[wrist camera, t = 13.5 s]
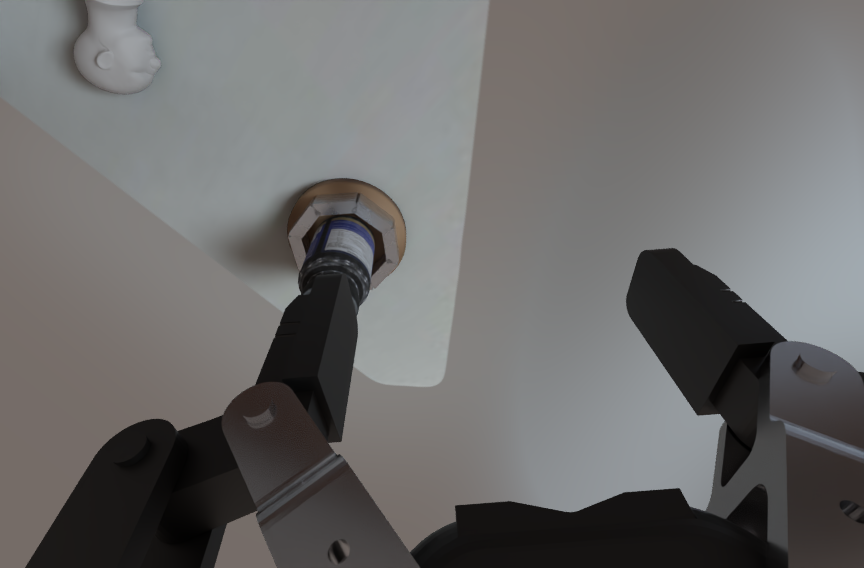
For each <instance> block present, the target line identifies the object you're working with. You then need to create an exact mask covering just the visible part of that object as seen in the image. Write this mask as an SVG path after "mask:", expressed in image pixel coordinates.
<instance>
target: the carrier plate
mask: <svg viewBox="0 0 864 568" xmlns="http://www.w3.org/2000/svg"><path fill="white" fill-rule="evenodd" d="M338 215H348V216H352V217H355V218H358V219H359V220H361V221H363V222H364V223H365V224H366V225H367V226H368V227H369V228H370V230H371V231H372V233H373V235H374V239H375V250H374V258H373V266H372V274H371V282H370V290H373V288H376V287H377V286H378V285H379V284H380V283H381V282H382V281H383V280H384V279H385V278H386V277H387V276H388V275H389V274H391V273H392V272H393V271H394V270H395V269H396V267H397V266H398V265H399V263H400V262H401V260H402V257H403V255H404V252H405V247H406V227H405V222H404V219H403V216H402V214H401V212H400V210H399V208H398V207H397V205H396V204H395V203H394V201H393V200H392V199H391V198H390V197H389V196H388V195H386V194H385V193H384V192H383V191H381V190H380V189H378V188H377V187H375V186H373V185H371V184H368V183H366V182H363V181H359V180H355V179H347V178H341V179H331V180H327V181H323V182H321V183H318V184H316V185H314V186H313V187H311V188H309V189H308V190H307V191H306V192H305V193H303V195H302V196H301V197H300V198H299V200H298V201H297V203H296V204H295V206H294V208H293V210H292V212H291V214H290V217H289V221H288V227H287V234H288V240H289V244H290V247H291V249H292V252H293V254H294V257H295V260H296V263H297V266H298V269H299V270H301V268H302V265H303V263H304V260H305V258H306V255H307V252H308V250H309V247H310V245H311V242H312V240H313V237H314V234H315V232H316V230H317V228H318V227H319V225H320V224H321V223H322V222H323V221H324V220H326V219H328V218H331V217H334V216H338Z"/></svg>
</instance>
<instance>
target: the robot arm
mask: <svg viewBox="0 0 864 568" xmlns="http://www.w3.org/2000/svg"><path fill="white" fill-rule="evenodd" d="M626 306H627V310H628V314H629V316H630V317H631V319H632V321H633V322H634V324H635V325H636V327H637V328H638V329H639V331H640V332H641V334H642V335H643V337H644V338H645V340H646V341H647V343H648V344H649V345H650V347H651V348H652V350H653V351H654V353H655V354H656V356H657V357H658V359H659V360H660V362H661V363H662V364H663V366H664V367H665V369H666V370H667V372H668V373H669V375H670V376H671V378H672V379H673V380H674V382H675V383H676V385H677V386H678V388H679V389H680V391H681V392H682V393H683V395H684V396H685V398H686V399H687V401H688V402H689V404H690V405H691V407H692V408H693V410H694V411H695V413H696V414H697V415H711V414H721V416H722V417H723V419H724V420H725V421H724V423H723V424H722V426H721V428H720V431H719V439H718V447H717V455H716V462H715V471H714V479H713V487H712V494H711V498H710V501H709V504H708V507H707V509H706V511H702V510H699V509H696V508H692V507H689V505H688V503H687V501H686V500H685V498H684V496H683V494H682V492H681V490H680V489H679V488H676V489H664V490H650V491H637V492H625V493H622V494H619V495H617V496H614V497H612V498H609V499H607V500H605V501H602V502H599V503H597V504H594V505H592V506H589V507H587V508H584V509H582V510H580V511H577V512H563V511H558V510H553V509H548V508H542V507H537V506H532V505H527V504H522V503H516V502H511V501H508V502H495V503H483V504H470V505H457V506H455V511H456V522H454V523H451V524H449V525H446V526H444V527H442V528H441V529H439V530H437V531H435V532H433V533H432V534H430V535H429V536H428V537H426V538H425V539H424V540H423V541H421V542H420V543H419V544H418V545H417V546H416V547H415V548H414V549H413V550H412V551H411V552H409V551H408V549H407V548H406V546H405V545H404V544H403V542H402V541H401V539H400V538H399V536H398V535H397V533H396V532H395V531H394V529H393V528H392V526H391V525H390V523H389V522H388V521H387V519H386V518H385V516H384V515H383V513H382V512H381V510H380V509H379V508H378V506H377V505H376V503H375V502H374V500H373V499H372V497H371V496H370V495H369V493H368V492H367V490H366V489H365V487H364V486H363V484H362V483H361V482H360V480H359V479H358V477H357V476H356V474H355V473H354V472H353V470H352V469H351V467H350V466H349V464H348V463H347V462H346V460H345V459H344V458H343V457H342V456H341V455H340V454H339V455H337V454H336V453H335V452H334V451H333V449H332V448H331V447H330V445H329V444H328V443H332V442H341V441H342V434H343V427H344V421H345V415H346V407H347V402H348V395H349V388H350V382H351V376H352V370H353V363H354V357H355V350H356V344H357V337H358V324H357V317H356V312H355V308H354V304H353V300H352V295H351V291H350V287H349V283H348V279H347V276H346V274H345V273H340V274H327V275H317V276H316V277H315V280H314V283H313V286H312V289H311V292H310V294H307V295H298V296H297V297H296V298H295V299H294V300H293V301H292V302H291V303H290V304H289V306H288V307H287V308H286V309H285V312H284V314H283V317H282V319H281V322H280V326H279V327H278V329H277V332H276V334H275V338H274V339H273V342H272V344H271V347H270V349H269V352H268V354H267V357H266V359H265V362H264V364H263V367H262V369H261V372H260V374H259V377H258V379H257V382H256V384H255V385H254V386H252V387H250V388H248V389H246V390H245V391H243V392H241V393H240V394H239V395H238V396H236V397H235V398H234V399H233V400H232V401H231V403H230V404H229V405H228V407H227V408H226V410H225V412H224V414H223V415H222V416H219V417H217V418H214V419H212V420H209V421H206V422H203V423H200V424H197V425H194V426H192V427H188V428H186V429H183V430H180V431H177V430H176V429H175V428H174V426H173V425H172V424H171V423H170V422H168V421H166V420H163V419H150V420H145V421H142V422H138V423H136V424H134V425H131V426H129V427H127V428H126V429H124V430H122V431H121V432H119V433H118V434H116V435H115V436H114V437H112V438H111V439H110V440H109V441H108V442H107V443H106V444H105V445H104V446H103V447H102V448H101V449H100V450H99V451H98V453H97V454H96V455H95V457H94V458H93V460H92V461H91V463H90V465H89V466H88V468H87V469H86V471H85V473H84V474H83V476H82V477H81V479H80V481H79V482H78V484H77V485H76V487H75V489H74V490H73V492H72V493H71V495H70V497H69V499H68V500H67V501H66V503H65V505H64V506H63V508H62V509H61V511H60V513H59V514H58V516H57V517H56V519H55V521H54V522H53V524H52V525H51V527H50V529H49V530H48V532H47V534H46V535H45V537H44V538H43V540H42V542H41V543H40V545H39V546H38V548H37V550H36V551H35V553H34V555H33V556H32V557H31V559H30V561H29V563H28V564H27V566H26V567H25V568H214V566H215V562H216V559H217V555H218V552H219V549H220V545H221V542H222V538H223V535H224V531H225V528H226V525H227V523H229V522H231V521H234V520H236V519H238V518H241V517H243V516H245V515H248V514H250V513H253V512H255V511H258V513H257V514H256V517H257V521H258V524H259V526H260V529H261V531H262V534H263V536H264V538H265V541H266V543H267V545H268V548H269V550H270V552H271V554H272V557H273V559H274V562H275V564H276V566H277V568H864V373H863V372H858V371H857V370H856V369H855V368H854V367H853V366H852V365H851V364H850V363H848V362H847V361H846V360H844V359H843V358H841V357H839V356H838V355H836V354H834V353H832V352H830V351H828V350H826V349H823V348H821V347H818V346H815V345H812V344H808V343H803V342H796V341H787V340H786V339H785V338H784V337H783V336H782V335H781V334H779V333H778V332H777V331H776V330H775V329H774V328H773V327H772V326H771V325H770V324H769V323H767V322H766V321H765V320H764V319H763V318H762V317H761V316H760V315H759V314H757V313H756V312H755V311H754V310H753V309H752V308H751V307H750V306H749V305H748V304H747V303H746V302H742V299H741V298H740V297H739V296H738V295H737V294H736V293H734V292H733V291H730V288H729V287H728V286H727V285H726V284H725V283H724V282H722V281H721V280H720V279H719V278H718V277H717V276H715V275H714V274H712V273H710V272H708V271H706V270H705V269H703V268H701V267H699V266H697V265H693V264H692V263H691V262H690V261H689V260H688V259H687V258H686V257H685V256H684V255H683V254H682V253H681V252H680V251H678V250H677V249H675V248H669V249H656V250H644V251H643V252H641V253H640V255H639V257H638V260H637V263H636V266H635V270H634V273H633V276H632V280H631V283H630V287H629V290H628V293H627V298H626Z"/></svg>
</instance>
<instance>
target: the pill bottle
mask: <svg viewBox="0 0 864 568" xmlns="http://www.w3.org/2000/svg"><path fill="white" fill-rule="evenodd" d="M374 250H375V239H374V235H373V233H372V231H371V230H370V228H369V227H368V226H367V225H366V224H365V223H364V222H363V221H361V220H359V219H358V218H355V217H352V216H348V215H338V216H334V217H331V218H328V219H326V220H324V221H323V222H322V223H321V224H320V225H319V227H318V228H317V230H316V232H315V234H314V237H313V240H312V242H311V245H310V247H309V250H308V252H307V255H306V258H305V260H304V263H303V265H302V268H301V270H300V273H299V277H298V284H299V289H300V291H301V295H307V294H310V292H311V289H312V286H313V283H314V280H315V277H316V276H317V275H327V274H340V273H345V274H346V276H347V279H348V283H349V287H350V291H351V295H352V300H353V304H354V308H355V312H356V316H357V314H358V310H359V306H360V305H361V304H362V303H363V302H364V301H365V300H366V298H367V296H368V293H369V290H370V282H371V274H372V266H373V258H374Z"/></svg>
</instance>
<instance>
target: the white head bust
mask: <svg viewBox="0 0 864 568" xmlns="http://www.w3.org/2000/svg"><path fill="white" fill-rule="evenodd" d="M84 1H85V4H86V7H87V12H88V26H87V29H86V30H85V31H84V32H83V33H82V34H81V35H80V36H79V37H78V39H77V40H76V43H75V45H74V52H73V54H74V60H75V63H76V66H77V68H78V70H79V71H80V73H81V74H82V75H83V76H84V78H85V79H87V80H88V81H89V82H90V83H92V84H93V85H95V86H97V87H98V88H100V89H103V90H105V91H109V92H112V93H117V94H133V93H137V92H140V91H142V90H144V89H146V88H147V87H148V86H149V85H150V84H151V83H152V81H153V77H154V75H155V73H156V72H157V71H158V70H159V69H160V67H161V61H160V59H159V58H158V57H157V56H156V52H155V50H154V49H153V45H152V42H153V40H152V37H151V35H150V34H149V33H147V32H146V31H144V30H143V29H141V28H140V27H138V26H137V25H136V22H137V9H138V6H140V5H141V4H142V3H143V2H144V0H84Z"/></svg>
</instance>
